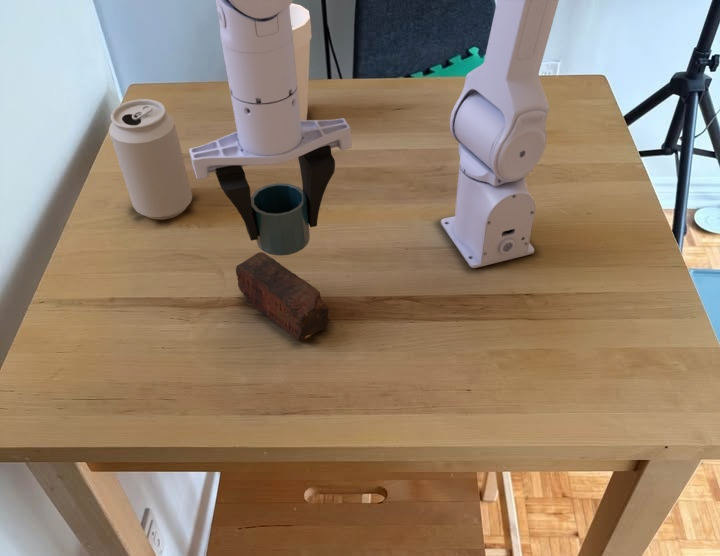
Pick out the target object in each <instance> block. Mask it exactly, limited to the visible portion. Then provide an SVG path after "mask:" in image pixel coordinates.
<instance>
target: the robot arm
mask: <svg viewBox="0 0 720 556" xmlns="http://www.w3.org/2000/svg"><path fill="white" fill-rule="evenodd" d="M293 2H294V0H215V4H216V10H217V16H218V22H219V23H218V24H219V35H220V41H221V48H222V52H223V57H224V64H225V70H226V76H227V81H228V89H229V93H230V98H231V99H230V100H231V104H232V110H233V116H234V122H235V128H236V131H235V132H231V133H230V134H227V135H224V136H222V137H219V138H218V139H215V140H213V141H210V142H207V143H205V144H202V145H199V146H195V147H191V148H188V152H189V156H190V161H191V166H192V169H193V172H194V175H195V177H196V180H197V181H200V180H204V179H207V178H209V176H210V175H209V174H213V173H215V176H216V178H217V181H218V183H219V186H220V189H221V190H222V192H223V193H224V195H225V196H226V198H228V199H229V201H230V202H231V203H232V205H233V206H234V207H235V209H236V211H237V212H238V213H239V215H240V216H241V218H242V220H243V222H244V225H245V229H246V232H247V235H248V237H249V239H250V241H256V240H257V239H258V234H257V229H256V225H255V221H254V218H253V213H252V206H251V196H252V195H251V187H250V184H249V182H248V180H247V177H246V172H245V170H244V169H243V167H247V166H275V165H279V164H285V163H288V162H291V161H292V160H295V159H297V158H298V165H299V170H300V176H301V183H302V184H301V185H302V190H303V191H304V192H305V194H306V203H307V213H308V223H309V228H315V227H317V226H318V219H319V213H320V208H321V204H322V200H323V197H324V194H325V191H326V189H327V187H328V185H329V182H330V180H331V178H332V177H333V175H334V174H335V171H336V159H335V157H334V156H333V154H332V149H335V148H338V149H339V150H340V151H345V150H350V149H352V130H351V127H350V125H349V124H348V122H347V120H346V119H345V117H341V118H335V119H323V120H322V119H321V120H320V119H319V120H314V119H313V120H310V119H307V120H303V121H301V117H300V107H299V97H298V86H297V77H296V66H295V55H294V45H293V33H292V25H291V18H290V8H289V6H290V5H291V3H293ZM559 2H560V0H496V5H495V9H494V14H493V19H492V23H491V27H490V33H489V36H488V42H487V47H486V50H485V55H484V59H483V63H482V64H480V65H479V66H477V67H475V68H473V69H472V70H471V71H469V72H468V73H467V74H466V76H465V80H464V85H463V88H462V91H461V94H460V95H459V97H458V99H457V100H456V102H455V104H454V106H453V108H452V110H451V113H450V117H449V118H450V119H449V128H450V129H449V130H450V134H451V136H452V137H453V139H454V140H455V141H456V142H457V143H458V151H457V152H458V155H459V164H458V165H459V166H458V177H457V186H456V188H457V189H456V199H455V209H454V210H455V211H454V216H448V217H445V218H442V219H441V220H440V225H441V226H442V228H443V229H444V231H445V232H446V233H447V235H448V236H449V238H450V239H451V241H452V242H453V243H454V245H455V246H456V248H457V250H458V251H459V253H460V254H461V255H462V257H463V258H464V259H465V261H466V262H467V264H468V265H469V267H470V268H472V269H476V268H481V267H485V266H489V265H493V264H498V263H502V262H505V261H510V260H514V259H517V258H521V257H525V256H529V255H533V254H534V253H535V248H534V246H533V245H532V244H531V242H530V240H531V235H532V229H533V224H534V220H535V214H536V201H535V200H534V197H533V196H532V194H531V193H530V190H529V188H528V185H527V178H526V177H528V176H529V175H530V173H531V172H532V171H533V170H534V168H536V167H537V165H538V164H539V162H540V161H541V159H542V157H543V154H544V153H545V150H546V145H547V130H546V126H547V119H548V116H549V113H550V104H549V101H548V98H547V95H546V92H545V90H544V87H543V85H542V81H541V78H540V70H541V67H542V64H543V59H544V57H545V56H544V55H545V52H546V48H547V45H548V40H549V37H550V34H551V30H552V27H553V23H554V19H555V16H556V11H557V8H558V4H559Z"/></svg>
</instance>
